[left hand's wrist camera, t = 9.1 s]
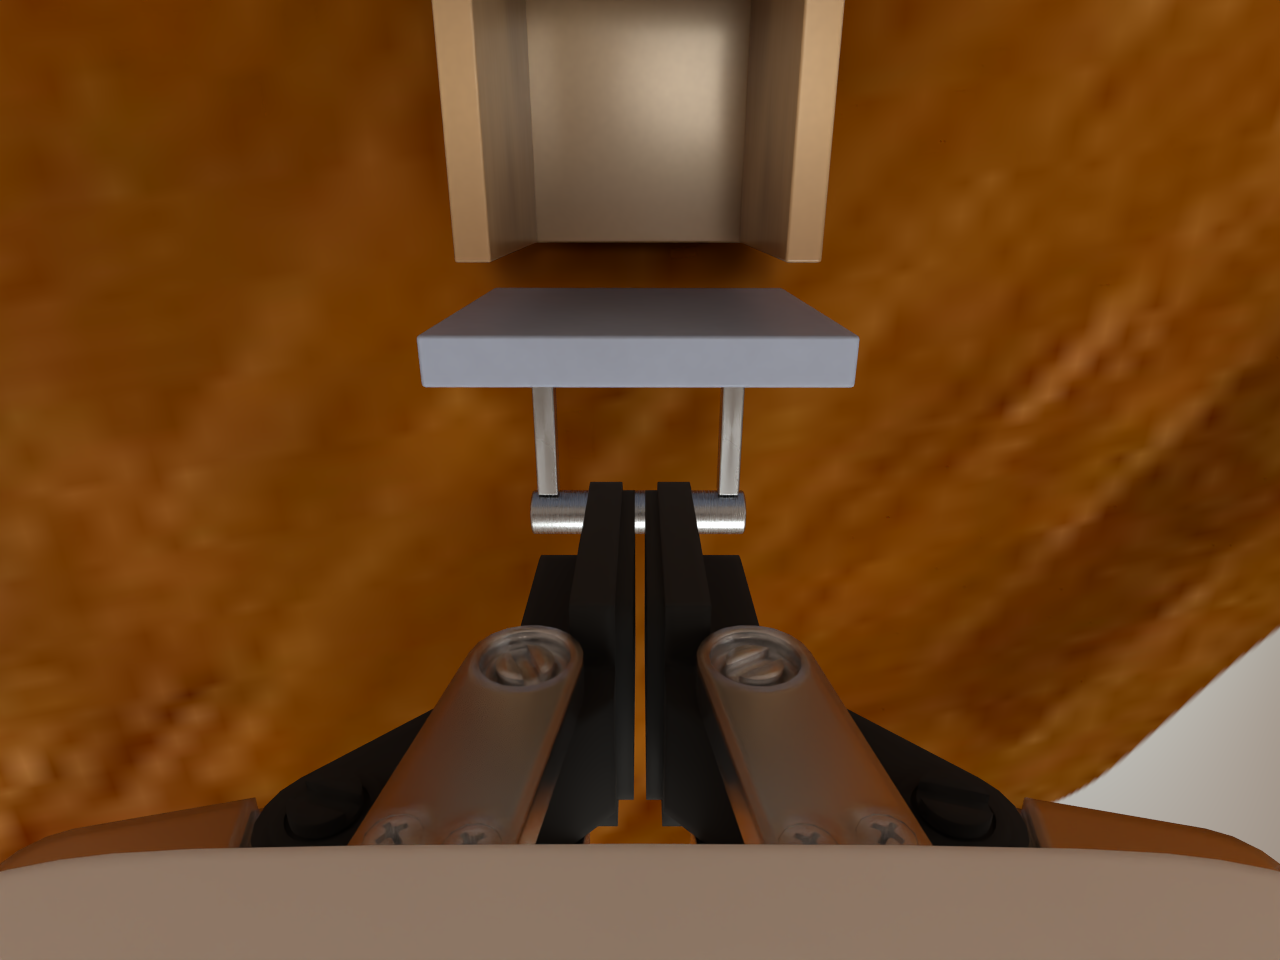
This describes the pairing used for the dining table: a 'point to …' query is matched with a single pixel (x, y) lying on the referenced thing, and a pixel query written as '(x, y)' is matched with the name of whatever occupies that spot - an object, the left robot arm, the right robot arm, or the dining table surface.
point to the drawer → (638, 204)
